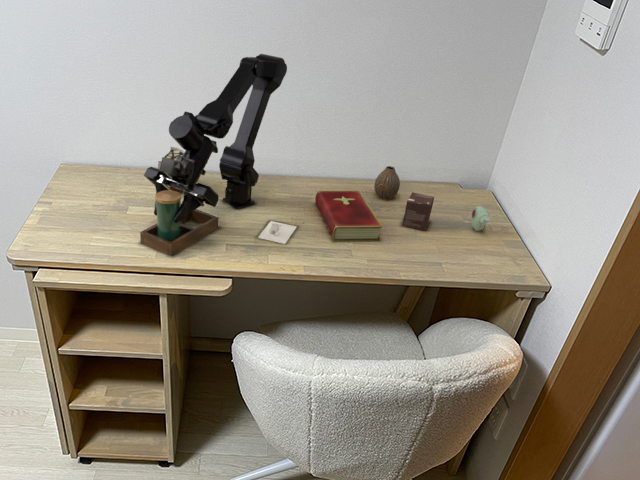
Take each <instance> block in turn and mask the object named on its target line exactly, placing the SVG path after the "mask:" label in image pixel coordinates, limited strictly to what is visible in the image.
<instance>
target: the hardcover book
mask: <svg viewBox="0 0 640 480" xmlns="http://www.w3.org/2000/svg"><path fill="white" fill-rule="evenodd" d="M314 199H315V201H314V202H315V205H316V207H317V209H318V211H319V213H320V215H321V217H322V219H323V222H324V224H325V226H326V227H327V229H328V232H329V234H330V236H331V239H332V240H333V242H379V241H380V237H379V233H380V229H382V228H383V225H382V224H381V222H380V220H379V219H378V218H377V216H376V215H375V213H374V212H373V210H372V208H371V207H370V205H369V203H368V202H367V201H366V199H365V197H364V196H363V194H362V192H361V191H360V190H317V191H316V193H315V198H314Z"/></svg>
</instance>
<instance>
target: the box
mask: <svg viewBox="0 0 640 480" xmlns="http://www.w3.org/2000/svg"><path fill="white" fill-rule="evenodd" d="M434 201H435V196H432V195H427V194H422V193H418V192H411V193H410V195H409V197H408V199H407V201H406V205H405V209H404V214H403V220H402V227H406V228H407V227H408V228H412V229H416V230H421V231H426V229H427V227H428V225H429V222H430V218H431V214H432V208H433V205H434Z"/></svg>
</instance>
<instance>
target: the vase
mask: <svg viewBox="0 0 640 480" xmlns="http://www.w3.org/2000/svg"><path fill="white" fill-rule="evenodd" d="M400 186H401V181H400V177H399V175H398V173H397V171H396V168H395V167H394V166H392V165H387V166H386V167H385V168H384V169H383V170H382V171H381V172H380V173H379V174H378V175H377V177H376V178H375V181H374V187H373V188H374V193H375V195H376V197H378V199H381V200H387V201H388V200H391V199H393V198H394V197H396V196H397V194H398V192H399V190H400V188H401V187H400Z"/></svg>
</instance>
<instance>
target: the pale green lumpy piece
mask: <svg viewBox="0 0 640 480" xmlns="http://www.w3.org/2000/svg"><path fill="white" fill-rule="evenodd" d="M470 219H471V224H472V227H473V229H474V230H475V231H476V232H477V231H478V232H479V231H481V230H483V229H484V228H485V226H486V225H487V224H489V223H490V222H491V220H490V212H489V210H488V209H487V208H486V207H485V206H484V205H478V206H476V207H475V208H473V210H472V212H471V218H470Z"/></svg>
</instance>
